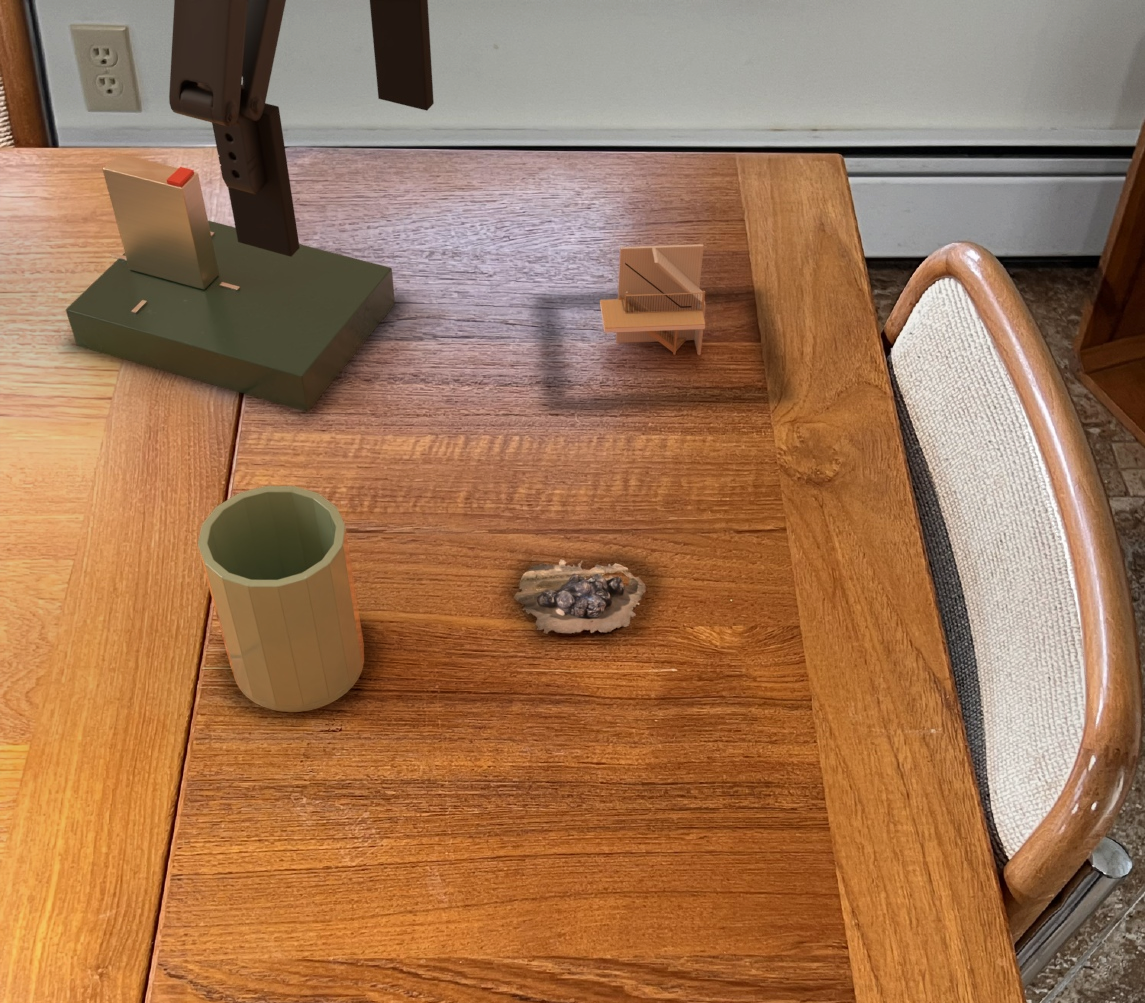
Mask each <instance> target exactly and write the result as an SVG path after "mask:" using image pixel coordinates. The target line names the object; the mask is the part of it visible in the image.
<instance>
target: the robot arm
mask: <svg viewBox="0 0 1145 1003" xmlns="http://www.w3.org/2000/svg"><path fill="white" fill-rule="evenodd" d="M286 1H287V0H174V1H173V19H172V20H173V21H172V37H171V57H170V74H169V75H170V76H169V78H170V79H169V94H168V99H169V100H168V102H169V106H170V109H171V110H172V112H173V113H175V114H177V115H182V116H186V117H189V118H193V119H196V120H201V121H205V122H209V123H211V125H212V129H213V136H214V140H215V146H216V151H217V155H218V162H219V165H220V166H219V167H220V173H221V177H222V180H223V182H224V183H225V186H226V187H227V190H228V194H229V200H230V201H229V202H230V205H231V206H230V207H231V211H232V212H231V213H232V216H233V222H234V227H235V228H236V233H237V239H238V242H240V243H243V244H247V245H251V246H254V247H258V248H261V249H265V250H269V251H272V252H276V253H279V254H283V255H287V256H290V257H292V255H293V254H294V253H295V252H296V251H297V250H298V249H299V248H300V247H299V244H300V241H299V234H298V227H297V221H296V215H295V214H296V213H295V208H294V201H293V194H292V188H291V181H290V173H289V166H288V160H287V153H286V147H285V140H284V134H283V133H284V132H283V127H282V119H281V113H280V107H279V106H278V105H274V104H270V103H266V100H267V96H268V91H269V86H270V81H271V78H272V77H271V76H272V72H273V66H274V61H275V57H276V51H277V47H278V42H279V37H280V31H281V28H282V27H281V26H282V23H283V17H284V12H285V8H286ZM369 7H370V8H369V9H370V20H371V31H372V41H373V42H372V43H373V50H374V51H373V55H374V65H375V76H376V86H377V88H376V89H377V97H378V98H377V99H378V100H381V101H386V102H390V103H394V104H397V105H402V106H406V107H411V108H414V109H419V110H422V111H425V112H427V111H429V109H430V108H432V106H433V105H434V103H435V102H434V85H433V70H432V69H433V68H432V53H431V52H432V50H431V35H430V32H431V31H430V16H429V0H369Z"/></svg>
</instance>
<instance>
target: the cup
mask: <svg viewBox="0 0 1145 1003" xmlns="http://www.w3.org/2000/svg"><path fill="white" fill-rule="evenodd" d="M339 510H340V509H339V508H338V507H337V506H336V505H335V504H334V503H332V501H330V500H329V499H327V498H326V497H324V496H323V495H322V494H320V492H316V491H313V490H310V489H306V488H304V487H300V486H296V485H264V486H263V485H262V486H259V487H256V488H252V489H248V490H245V491H240V492H238V493H237V494H235V495H233V496H232V497H230V498H228V499H226V500H225V501H223V502H222V503H220V504H218V505H216V506H215V508H214V509H213V510H212V511H211V513H210V514H209V515H208V516H207V518H206V519H205V520H204V521H203V523H202V524H201V527H200V531H199V537H198V541H197V548H198V551H199V555H200V559H201V562H202V566H203V570H204V573H205V577H206V581H207V585H208V589H209V593H210V596H211V599H212V604H213V607H214V610H215V615H216V618H217V621H218V626H219V629H220V633H221V636H222V640H223V644H224V649H225V651H226V652H225V653H226V654H227V658H228V663H229V666H230V669H231V671H232V674H233V678H234V680H235V681H234V682H235V684H236V685H237V687H238V689H239V690H240V691H241V692H242V694H243V695H244V696H245V697H246V698H247V699H249V700H250V701H251V702H253V703H255V704H257V705H258V706H261V707H263V708H265V709H269V710H272V711H277V712H282V713H283V712H285V713H299V712H300V713H301V712H308V711H312V710H316V709H319V708H323V707H325V706H327V705H330V704H332V703H334V702H335V701H337V700H338V699H340V698H342V697H343V696H344V695H345V694H347V693H348V692H349V691H350V690H351V689H352V688H353V687H354V685H355V684H356V683H357V681H358V680H359V678H360V676H361V674H362V671H363V669H364V664H365V652H364V650H365V644H364V636H363V630H362V625H361V618H360V617H361V616H360V612H359V604H358V599H357V598H358V597H357V591H356V585H355V578H354V573H353V566H352V565H353V564H352V558H351V552H350V546H349V540H348V533H347V527H346V523H345V521H344V519H343V517H342V514H341V511H339Z"/></svg>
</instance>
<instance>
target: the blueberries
mask: <svg viewBox="0 0 1145 1003" xmlns="http://www.w3.org/2000/svg"><path fill="white" fill-rule="evenodd" d="M583 562H584V560H581V561H580V562H579V563H577V566H576V565H575V564H572V565H573V566H571V565H569V564H568V565H566V564H567V562H566V560H565V559H559V562H558V564H554V563H551V564H544V563H539V564H538V565H530V567H531V568H528V569H527V570H526V571H525V572H523V574H522V576H521V578H520V580H519V583H518V586H519V587H518V589H519V590H521V591H517V592H516V593H514V596H513V598H514V599H515V600H516V602H517V603H520V604H522V605H524V606H523V608H522V611H525V613H526V614H527V615H529V614H532V616H535V618H536V620H535V624H534V626H536V627H537V628H536V631H542V630H544V631H543V634H548V633H549V632H551V631H552V632H553V631H554V632H555V633H556V634H559V633H562V634H572V633H573V634H575V633H582V632H583V631H589V632H590V633H591V634H593V633H595V632H596V631H598V632H600V633H608V632H609V633H611V632H612V631H613V630H615V629H616V628H617V629H620V628H621V627H623V628H627V627H629V626H630V625H631V617H632V618H634V617H636V616H637V614H636V613H635V612H634V608H636V607H637V606H640V605H641V603H640V602H639V601H641V600H642V598H643V594H645V593H646V592H647V591H646V590H647V589H646V588H647V586H646V583H645V582H643V580H642V579H641V578H640V577H639V576H634V575H633V573H632V572H628V571H629V568H628V567H627V566H624V565H622V564H619V563H616V562H615V563H614V564H612V565H611V563H608V565H601V564H598V563H597V564H595V565H594V567H592V568H590V569H585V568H582V564H583ZM614 573H622V574H624V575H625V576H626V577H627V578H629V582H628V584H627V585H625V584H624V581H623V579H622V577H621V576H614V575H613V576H612V575H609V574H614ZM606 574H608V577H604V575H606ZM587 577H589V578H587Z"/></svg>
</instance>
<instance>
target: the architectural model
mask: <svg viewBox="0 0 1145 1003" xmlns="http://www.w3.org/2000/svg"><path fill="white" fill-rule="evenodd" d="M703 258H704V243H701V244H700V243H699V244H672V245H671V244H669V245H642V246H640V245H639V246H620V247H619V267H618V287H617V298H612V299H609V298H608V299H600V300H599V302H600V303H599V306H600V314H601V319H602V327H603V332H604V333H605V334H606V333H607V334H608V333H615V335H616V336H615V344H625V343H652V342H653V343H655V342H658V343H660V344H661V345H662V346H664V347H665V348H667V349H668V350H669V351H671V352H672V353H673V356H676V354H677V351H678V350H679V349H680V347H681V346H683V344H684V343H686V341H694V345H695V349H696V354H697V356H701V355H702V348H703V346H702V344H703V337H704V330H705V329H706V321H705V316H706V308H707V307H706V306H707V305H706V301H705V300H706V298H705V297H706V291H705V290H702V289H701V278H702V277H701V276H702V266H703Z"/></svg>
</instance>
